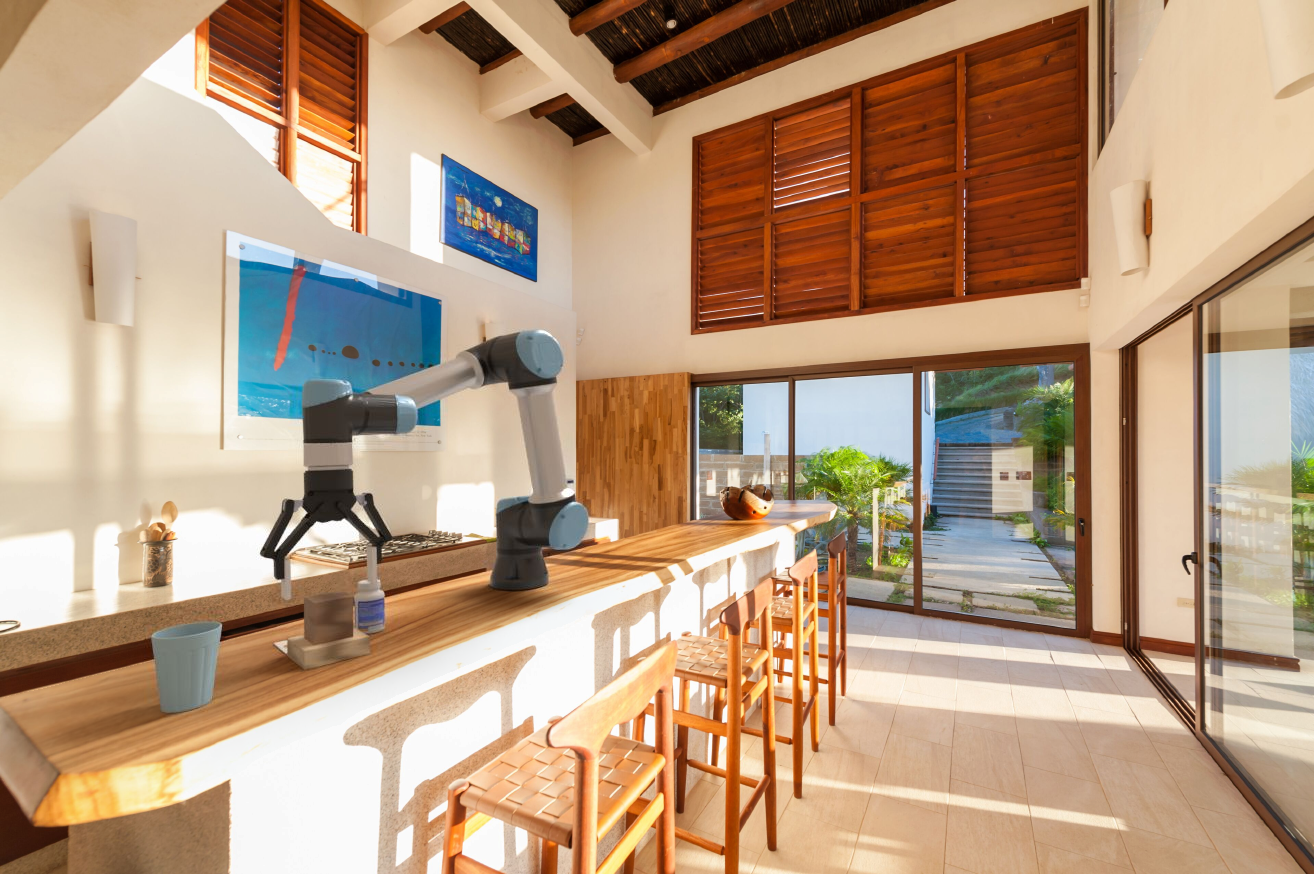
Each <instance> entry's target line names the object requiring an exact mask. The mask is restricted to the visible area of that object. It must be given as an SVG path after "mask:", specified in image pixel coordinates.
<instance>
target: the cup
mask: <svg viewBox="0 0 1314 874" xmlns="http://www.w3.org/2000/svg"><path fill="white" fill-rule="evenodd" d="M222 627H223V623H221V622H219V621H218V622H217V621H200V622H199V621H198V622H190V623H184V624H179V625H175V626H169V627H166V628H164V629H161V630H160V629H159V630H158V631H156V632H154V633H152V634H151V635H150V638H151V639H150V640H151V644H152V652H153V659H154V666H155V667H154V668H155V674H156V682H157V689H158V696H159V697H158V698H159V703H160V704H159V705H160V710H161V712H163V713H164V714H165V713H166V714H174V713H175V714H176V713H183V712H189V711H192V710H194V709H198V708H201V707H203V706H205V705H207V704H208V703H210V702H211V701H212V698H213V694H214V693H213V692H214V688H215V687H214V685H215V679H216V670H217V664H218V663H217V662H218V657H219V648H220V640H221V637H222V636H221V635H222Z"/></svg>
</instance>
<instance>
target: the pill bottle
mask: <svg viewBox="0 0 1314 874" xmlns="http://www.w3.org/2000/svg"><path fill="white" fill-rule="evenodd" d="M380 588H381V579H379V578H377V583H374V584H372V583H370V582H367V579H363V580H359V581H358V582H357V590H358V591H359V592H357V593H355V595H353V619H354V628H356V629H358V630H359V631H361V632H363V633H365V634H366V635H371V634H376V633H380V632H381V631H384V630H385V628H386V613H385V611H386V610H385V609H386V606H385V604H386V601H385V598H386V597H385V596H386V594H385V591H383V590H382V589H380Z"/></svg>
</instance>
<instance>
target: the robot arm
mask: <svg viewBox="0 0 1314 874" xmlns="http://www.w3.org/2000/svg"><path fill="white" fill-rule="evenodd" d="M564 360H565V359H564V353H563V350H562V347H561V345H560V343H559V341H558V340H557V339H556V337H554V336H552V334H550V333H549V332H548V331H546V330H543V329H527V330H522V331H518V332H514V333H510V334H509V333H508V334H504V335H503V334H502V335H499V336H493V337H492V338H490V339H487V340H486V341H483V342H481V343H479V344H476V345H475V346H472V347H470V348H467V349H466V350H462V351H459V352H458V353H457V354H456V356H455V358H453V359H450V360H448V361H445V362H442V363H440V364H437V365H434V366H431V367H429V368H425V369H423V370H420V371H417V372H415V373H412V374H408V375H406V376H403V377H400V378H398V379H395V380H393V381H389V382H386V383H383V384H381V385H378V386H375V387H373V388H370V389H368V390H364V391H362V392H360V393H359V392H353V388H352V384H351V383H350V382H349V381H347V380H344V379H343V380H342V379H333V378H331V379H329V378H323V379H322V378H319V379H318V378H317V379H315V378H314V379H310V380H307V381H305V382H304V384H303V386H302V392H301V405H300V407H301V413H302V416H301V417H302V433H303V434H302V436H303V441H302V443H303V467H305V468H307V470H305V471H304V472H303V497H302V499H291V498H284V499H283V500H282V501H281V502H282V503H281V509H280V514H279V516H278V517H277V520H276V521H275V523H274V525H273V527H272V528H271V531H270V532H269V534H268V536H267V538H266V540H265V541H264V544H263V545H262V547H261V549H260V551H259V555H260V557H263V558H265V559H270V560H272V561H273V577H274V579H275V580H277V581H278V580H280V587H281V589H280V590H281V592H280V593H281V598H282V599H284V600H285V601H290V600H292V577H291V575H292V574H291V571H292V570H291V559H290V558H288V557H287V556H288V555H289V554H290V553H291V551H292V550H293V549H294V547H296V545H297V544H298V543H299V542H300V540H302V538H303V537H304V536H305V534H307V532H308V531H309V530H310V529H311V528H312V527H313V526H314V525H315V524H316V523H321V524H324V523H325V524H326V523H329V522H341V521H343V520H344V519H345V520H346V521H347V522H348V523H349V524H350V525H351V526H352V527H353V528H354V529H355V530H356V531H357V532H358V533H360V535H362V537H364V538H365V539H366V540H367V541H368V542H369V543H370V544H371V545H366V578H367V579H366V580H367V582H370V583H372V584H374V583H377V579H378V565H377V564H381V563H382V562H383V561H382V560H383V551H382V549H383V546H384V545H385V543H387V542H392V540H393V535H392V533H391V532H390V530H389V529H388V526H387V525H386V523H385V521H384V519H383V518H382V516H381V514H380V512H379V511H378V509H377V507H376V506H375V502H374V496H373V495H374V494H372V493H370V492H363V493H361V494H356V495H355V492H354V470H352V468H350V466H351V467H352V466H353V464H354V456H353V452H354V451H353V437H355V436H374V435H394V436H397V435H405V434H410V433H411V432H412V431H413V430H414V429H415V428H416V425H417V423H418V409H421V408H424V407H426V406H428V405H431V404H432V403H436V402H438V401H440V400H443V399H446V398H448V397H450V396H452V395H455V394H457V393H460V392H462V391H465V390H467V389H471V390H477V389H478V390H479V388H482V387H484V386H485V387H486V386H488V385H497V384H504V383H507V386H508V390H509V392H510V393H512V394H513V395H514V396H515V397H516V399H517V401H516V402H517V405H518V411H519V416H520V417H519V418H520V423H521V429H522V435H523V441H524V446H525V453H526V457H527V458H526V459H527V463H528V470H529V477H530V482H531V488H532V493H531V495H522V496H512V497H506V498H502V499H500V500H498V501H497V504H496V511H495V520H496V521H495V522H496V523H495V525H496V526H495V527H496V529H495V530H496V531H495V532H496V558H495V562H494V564H493V567H492V569H491V570H492V571H491V574H490V576H489V577H490V578H489V587H490V588H492V589H495V590H501V591H519V590H520V591H522V590H530V589H531V590H532V589H536V588H540V587H544V586H546V585H548V583H550V574H549V570H548V567H547V565H546V562H545V559H544V556H543V550H542V549H543V548H548V549H554V550H558V551H559V550H571V549H573V548H576V547H577V546H578V545H580V544H581V542H582V541H583V540H584V538H585V535H586V534H587V531H588V528H589V522H590V521H589V520H590V519H589V517H590V516H589V512H588V510H587V508H586V507H585V506H584V505H583V504H582V503H581V502H578V501H577V498H576V492H575V490H574V489H573V488H571V487H570V486H568V480H567V475H566V468H565V462H564V456H563V455H564V454H563V450H562V442H561V437H560V430H559V424H558V420H557V419H558V418H557V413H556V405H555V399H554V393H553V391H554V389H555V388H556V387H557V385H558V379H557V376H558V375H559V374H560V373H561V372H562V367H563V366H564ZM356 503H358V505H359V506H362V507H363V510H364V511H365V514H366V515H367V517H368V519H369V520H370V522H371V524H372V525H373V527H374V529H375V531H376V532H377V534H378V535H377V534H375V532H374V531H373V530H371V528H370V527H368V525H367V524H366V523H364V522H363V520H362V519H361V518H360V517H359V516H358V515H357V514H356V513H355V512H354V511H353V510H352V509H353V507H354V506H355V504H356ZM300 507H301V508H302V509H303V510H304V511H305V512H306V513H305V515H304V516H303V517H302V518H301V519H300V521H299V523H298V525H296V526H295V528H294V529H293V530H292V531H291V533H290V534H289V535H288V536H287V537H286V538H285V539H284V540H283V542H281V544H280V545H279V547H278V544H279V543H280V541H281V539H282V537H283V535H284V534H285V532H286V530H287V527H288V526H289V524H290V522H291V520H292V518H293V516H294V513H296V512H298V511H299V508H300ZM277 547H278V548H277Z"/></svg>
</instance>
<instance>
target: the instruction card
mask: <svg viewBox="0 0 1314 874" xmlns="http://www.w3.org/2000/svg"><path fill="white" fill-rule="evenodd" d="M273 645H274V646H275V647H277V649H278V650H279V651H281V652H282V653H284V655H287V640H282V641H276V642H273Z"/></svg>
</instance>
